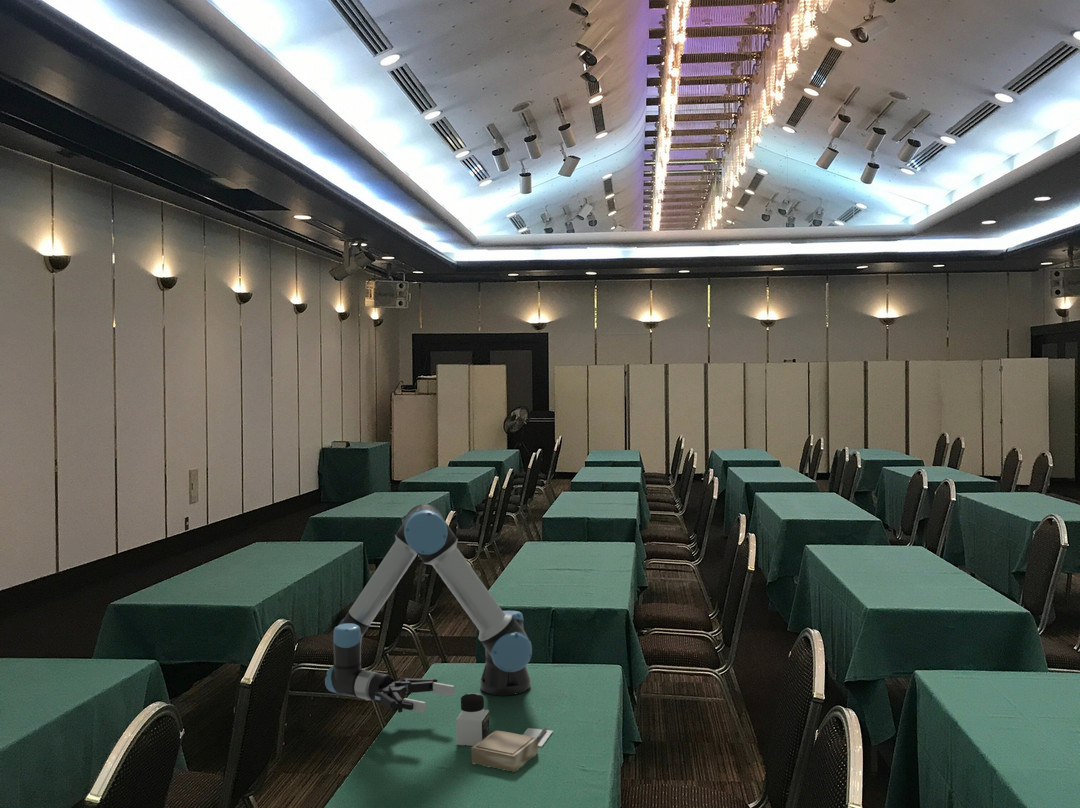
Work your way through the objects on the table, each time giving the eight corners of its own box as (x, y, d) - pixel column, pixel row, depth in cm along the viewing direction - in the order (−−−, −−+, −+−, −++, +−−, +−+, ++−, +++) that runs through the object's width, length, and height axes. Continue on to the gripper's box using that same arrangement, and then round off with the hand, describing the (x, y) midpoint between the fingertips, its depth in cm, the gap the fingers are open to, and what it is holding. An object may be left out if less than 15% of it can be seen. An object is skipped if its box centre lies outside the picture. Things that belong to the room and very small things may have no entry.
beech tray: (496, 745, 235) (496, 729, 235) (537, 753, 229) (537, 736, 229) (471, 763, 224) (471, 746, 224) (514, 772, 219) (514, 755, 218)
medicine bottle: (483, 747, 234) (481, 701, 233) (456, 745, 235) (455, 699, 235) (490, 736, 241) (488, 691, 240) (464, 734, 242) (462, 689, 242)
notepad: (528, 731, 244) (527, 724, 244) (553, 734, 242) (553, 727, 242) (516, 746, 235) (516, 739, 235) (542, 749, 233) (542, 742, 233)
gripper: (402, 686, 263) (464, 698, 253) (346, 715, 241) (412, 729, 231) (402, 660, 263) (464, 671, 253) (345, 687, 241) (411, 700, 231)
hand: (439, 699), depth 242 cm, fingers open, 13 cm apart
